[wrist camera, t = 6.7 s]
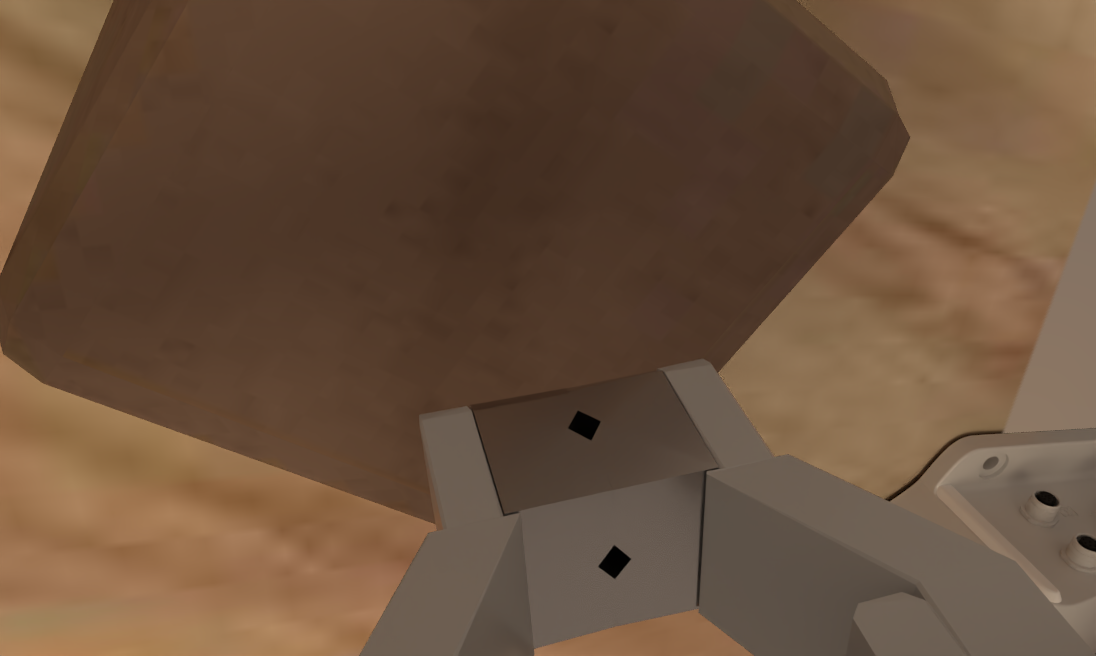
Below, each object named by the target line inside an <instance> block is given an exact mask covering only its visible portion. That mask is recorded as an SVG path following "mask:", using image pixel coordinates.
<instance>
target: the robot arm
mask: <svg viewBox="0 0 1096 656" xmlns="http://www.w3.org/2000/svg"><path fill="white" fill-rule="evenodd" d="M419 426H420V432H421V438H422V444H423V450H424V457H425V463H426V469H427V475H428V481H429V488H430V494H431V500H432V506H433V512H434V517H435V523H436V529H437V531H435V532H431V533H428V534H427V536H426V538H425V540H424V541H423V543H422V545H421V547H420V549H419V550H418V552H417V554H416V556H415V557H414V559H413V561H412V563H411V564H410V566H409V568H408V570H407V572H406V573H405V575H404V577H403V579H402V580H401V582H400V584H399V586H398V588H397V589H396V591H395V593H394V595H393V596H392V598H391V600H390V602H389V604H388V605H387V607H386V609H385V611H384V612H383V614H382V616H381V618H380V620H379V621H378V623H377V625H376V627H375V628H374V630H373V632H372V634H371V636H370V637H369V639H368V641H367V643H366V644H365V646H364V648H363V650H362V652H361V653H360V655H359V656H534V649H535V648H538V647H542V646H546V645H549V644H553V643H557V642H560V641H564V640H568V639H571V638H575V637H579V636H582V635H586V634H590V633H593V632H597V631H601V630H604V629H608V628H612V627H615V626H620V625H625V624H629V623H634V622H639V621H643V620H648V619H653V618H657V617H662V616H667V615H671V614H676V613H681V612H685V611H690V610H695V609H699V613H700V614H701V615H702V616H704V617H705V618H706V619H708V620H709V621H710V622H711V623H713V624H714V625H715V626H717V627H718V628H719V629H721V630H722V631H723V632H724V633H726V634H727V635H728V636H730V637H731V638H732V639H734V640H735V641H736V642H737V643H739V644H740V645H741V646H743V647H744V648H745V649H747V650H748V651H749V652H750V653H752V654H753V655H754V656H1096V428H1089V429H1072V430H1055V431H1039V432H1021V433H1004V434H987V435H972V436H967V437H964V438H961V439H959V440H957V441H956V442H954V443H953V444H952V445H950V446H949V447H948V448H947V449H946V450H945V451H944V452H943V453H942V454H941V455H940V456H939V457H938V458H937V459H936V460H935V461H934V463H933V464H932V465H931V466H930V467H929V468H928V469H927V471H926V472H925V473H924V474H923V475H922V477H921V478H920V479H919V480H918V481H917V482H916V483H915V484H913V485H912V486H911V487H910V488H908V489H907V490H906V491H904V492H903V493H901V494H900V495H898V496H897V497H896V498H894V499H893V500H891V501H890V502H889V501H887V500H885V499H882V498H880V497H878V496H876V495H874V494H872V493H870V492H868V491H865V490H863V489H861V488H859V487H857V486H855V485H853V484H851V483H848V482H846V481H844V480H842V479H840V478H838V477H836V476H834V475H831V474H829V473H827V472H825V471H823V470H821V469H819V468H817V467H814V466H812V465H810V464H808V463H806V462H804V461H802V460H800V459H797V458H795V457H793V456H791V455H789V454H787V455H782V456H778V457H774V455H773V454H772V452H771V451H770V449H769V448H768V446H767V445H766V444H765V442H764V441H763V439H762V438H761V436H760V435H759V433H758V432H757V430H756V429H755V427H754V426H753V424H752V423H751V421H750V420H749V418H748V417H747V415H746V414H745V413H744V411H743V410H742V408H741V407H740V405H739V404H738V402H737V401H736V399H735V398H734V396H733V395H732V393H731V392H730V390H729V389H728V387H727V386H726V385H725V383H724V382H723V380H722V379H721V377H720V376H719V374H718V373H717V371H716V370H715V368H714V367H713V365H712V364H711V363H710V362H708V361H706V360H705V359H698V360H694V361H689V362H685V363H680V364H676V365H671V366H667V367H662V368H658V369H657V370H656V371H650V372H645V373H640V374H635V375H630V376H625V377H621V378H616V379H611V380H606V381H601V382H596V383H591V384H586V385H581V386H576V387H571V388H564V389H558V390H553V391H547V392H541V393H536V394H530V395H524V396H518V397H513V398H507V399H501V400H495V401H490V402H484V403H478V404H473V405H470V409H469V408H468V407H467V406H464V407H459V408H453V409H448V410H443V411H437V412H432V413H426V414H421V415H419Z"/></svg>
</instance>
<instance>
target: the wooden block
mask: <svg viewBox="0 0 1096 656" xmlns="http://www.w3.org/2000/svg"><path fill="white" fill-rule="evenodd" d="M909 139H910V136H909V134H908V132H907V130H906V128H905V126H904V124H903V122H902V120H901V118H900V117H899V114H898V111H897V108H896V105H895V103H894V100H893V97H892V94H891V91H890V88H889V86H888V83H887V80H886V79H885V78H884V77H882V76H881V75H880V74H879V73H878V72H877V71H876V70H874V69H873V68H872V67H871V66H870V65H869V64H868V63H867V62H865V61H864V60H863V59H862V58H861V57H860V56H859V55H857V54H856V53H855V52H854V51H853V50H852V49H851V48H849V47H848V46H847V45H846V44H845V43H844V42H843V41H842V40H840V39H839V38H838V37H837V36H836V35H835V34H834V33H832V32H831V31H830V30H829V29H828V28H827V27H826V26H824V25H823V24H822V23H821V22H820V21H819V20H818V19H817V18H815V17H814V16H813V15H812V14H811V13H810V12H809V11H807V10H806V9H805V8H804V7H803V6H802V5H801V4H800V3H798V2H797V1H796V0H114V1H113V3H112V6H111V8H110V11H109V13H108V15H107V18H106V20H105V23H104V25H103V28H102V30H101V32H100V35H99V37H98V40H97V42H96V45H95V47H94V49H93V52H92V54H91V57H90V59H89V61H88V64H87V66H86V69H85V71H84V74H83V76H82V78H81V81H80V83H79V86H78V88H77V91H76V93H75V95H74V98H73V100H72V103H71V105H70V108H69V110H68V112H67V115H66V117H65V120H64V122H63V125H62V127H61V129H60V132H59V134H58V137H57V139H56V142H55V144H54V146H53V149H52V151H51V154H50V156H49V159H48V161H47V163H46V166H45V168H44V171H43V173H42V176H41V178H40V180H39V183H38V185H37V188H36V190H35V193H34V195H33V197H32V200H31V202H30V205H29V207H28V210H27V212H26V214H25V217H24V219H23V222H22V224H21V226H20V229H19V231H18V234H17V236H16V239H15V241H14V243H13V246H12V248H11V251H10V253H9V256H8V258H7V260H6V263H5V265H4V268H3V270H2V273H1V275H0V343H1V347H2V351H3V354H4V355H6V356H7V357H8V358H10V359H11V360H12V361H14V362H15V363H16V364H18V365H19V366H20V367H22V368H23V369H24V370H26V371H27V372H28V373H30V374H31V375H32V376H34V377H35V378H36V379H38V380H39V381H41V382H42V383H44V384H46V385H49V386H52V387H55V388H58V389H60V390H63V391H66V392H69V393H72V394H74V395H77V396H80V397H83V398H85V399H88V400H91V401H94V402H97V403H99V404H102V405H105V406H108V407H111V408H113V409H116V410H119V411H122V412H124V413H127V414H130V415H133V416H136V417H138V418H141V419H144V420H147V421H150V422H152V423H155V424H158V425H161V426H163V427H166V428H169V429H172V430H175V431H177V432H180V433H183V434H186V435H189V436H191V437H194V438H197V439H200V440H203V441H205V442H208V443H211V444H214V445H216V446H219V447H222V448H225V449H228V450H230V451H233V452H236V453H239V454H242V455H244V456H247V457H250V458H253V459H255V460H258V461H261V462H264V463H267V464H269V465H272V466H275V467H278V468H281V469H283V470H286V471H289V472H292V473H294V474H297V475H300V476H303V477H306V478H308V479H311V480H314V481H317V482H320V483H322V484H325V485H328V486H331V487H334V488H336V489H339V490H342V491H345V492H347V493H350V494H353V495H356V496H359V497H361V498H364V499H367V500H370V501H373V502H375V503H378V504H381V505H384V506H386V507H389V508H392V509H395V510H398V511H400V512H403V513H406V514H409V515H412V516H414V517H417V518H420V519H423V520H425V521H428V522H431V523H434V524H436V523H435V517H434V512H433V506H432V500H431V494H430V488H429V481H428V475H427V469H426V463H425V457H424V450H423V444H422V438H421V432H420V426H419V415H421V414H426V413H432V412H437V411H443V410H448V409H453V408H459V407H464V406H467V407H468V408H469V409H470V405H473V404H478V403H484V402H490V401H495V400H501V399H507V398H513V397H518V396H524V395H530V394H536V393H541V392H547V391H553V390H558V389H564V388H571V387H576V386H581V385H586V384H591V383H596V382H601V381H606V380H611V379H616V378H621V377H625V376H630V375H635V374H640V373H645V372H650V371H656V370H657V369H658V368H662V367H667V366H671V365H676V364H680V363H685V362H689V361H694V360H698V359H705V360H706V361H708V362H710V363H711V364H712V365H713V367H714V368H715V370H716V371H717V373H718V372H719V371H720V370H721V368H722V367H723V366H724V365H725V364H726V363H727V362H728V361H729V359H730V358H731V357H732V356H733V355H734V354H735V353H736V352H737V350H738V349H739V348H740V347H741V346H742V345H743V344H744V343H745V341H746V340H747V339H748V338H749V337H750V336H751V335H752V334H753V332H754V331H755V330H756V329H757V328H758V327H759V326H760V325H761V323H762V322H763V321H764V320H765V319H766V318H767V317H768V316H769V314H770V313H771V312H772V311H773V310H774V309H775V308H776V307H777V305H778V304H779V303H780V302H781V301H782V300H783V299H784V298H785V297H786V295H787V294H788V293H789V292H790V291H791V290H792V289H793V288H794V286H795V285H796V284H797V283H798V282H799V281H800V280H801V279H802V277H803V276H804V275H805V274H806V273H807V272H808V271H809V270H810V268H811V267H812V266H813V265H814V264H815V263H816V262H817V261H818V259H819V258H820V257H821V256H822V255H823V254H824V253H825V252H826V250H827V249H828V248H829V247H830V246H831V245H832V244H833V243H834V241H835V240H836V239H837V238H838V237H839V236H840V235H841V234H842V232H843V231H844V230H845V229H846V228H847V227H848V226H849V225H850V223H851V222H852V221H853V220H854V219H855V218H856V217H857V216H858V214H859V213H860V212H861V211H862V210H863V209H864V208H865V207H866V205H867V204H868V203H869V202H870V201H871V200H872V199H873V198H874V197H875V195H876V194H877V193H878V192H879V191H880V190H881V189H882V188H883V186H884V185H885V184H886V183H887V182H888V181H889V180H890V179H891V177H892V176H893V174H894V172H895V170H896V168H897V165H898V163H899V161H900V159H901V157H902V154H903V152H904V150H905V148H906V146H907V143H908V141H909Z"/></svg>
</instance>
